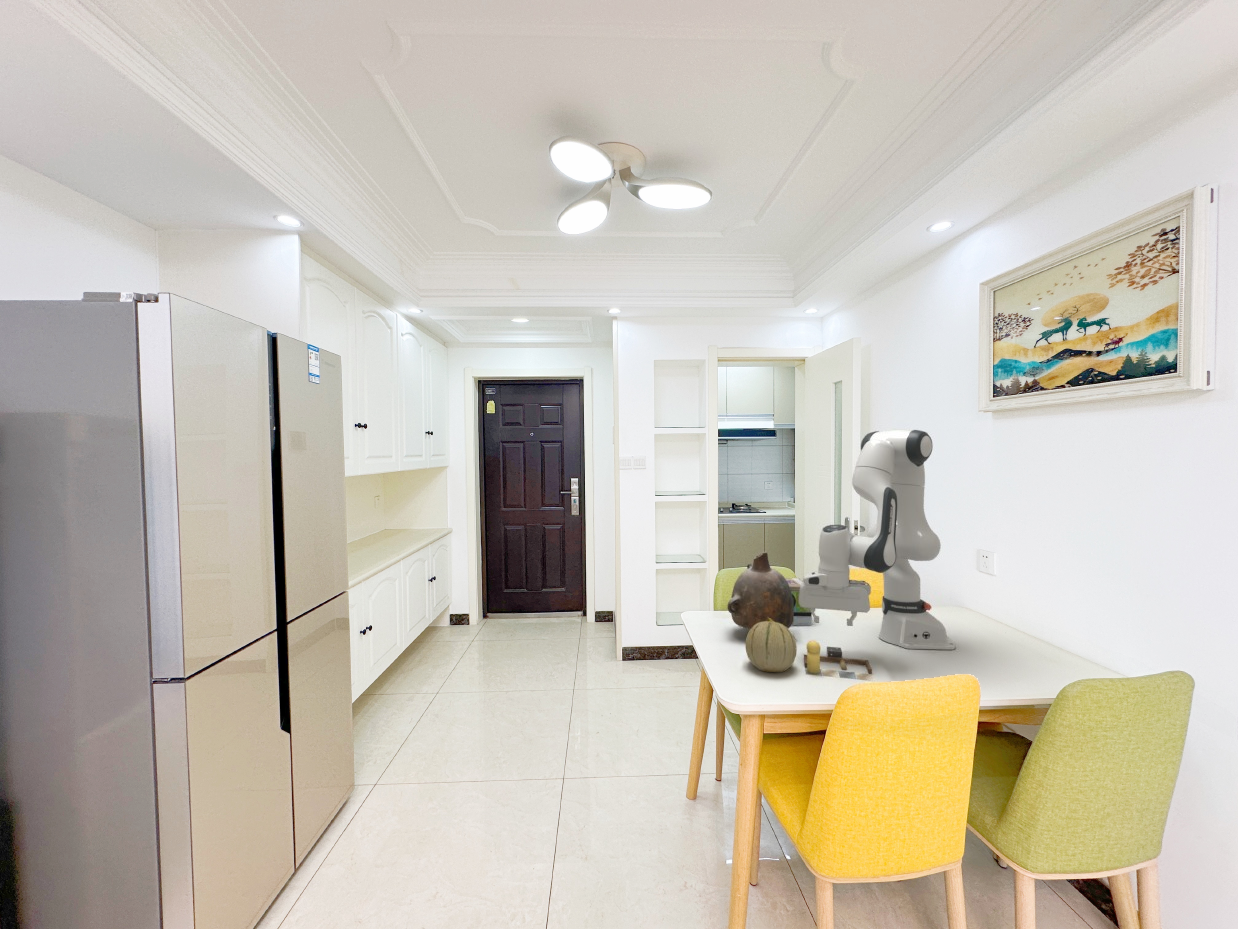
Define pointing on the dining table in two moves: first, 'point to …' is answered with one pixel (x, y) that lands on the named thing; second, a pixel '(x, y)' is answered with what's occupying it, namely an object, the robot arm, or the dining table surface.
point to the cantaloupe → (771, 646)
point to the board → (843, 668)
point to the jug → (761, 596)
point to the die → (834, 652)
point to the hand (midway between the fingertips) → (832, 624)
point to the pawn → (813, 657)
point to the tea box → (800, 613)
